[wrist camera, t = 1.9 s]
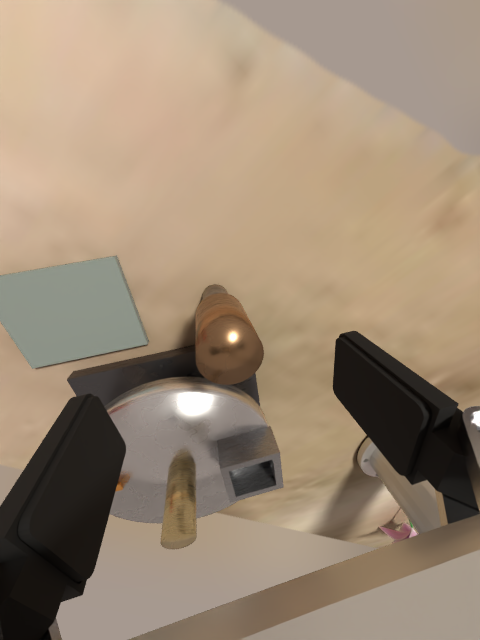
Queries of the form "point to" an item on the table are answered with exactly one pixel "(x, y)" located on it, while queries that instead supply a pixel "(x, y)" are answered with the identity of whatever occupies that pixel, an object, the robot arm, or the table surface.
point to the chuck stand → (143, 374)
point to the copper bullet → (225, 339)
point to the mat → (70, 311)
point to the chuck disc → (190, 453)
